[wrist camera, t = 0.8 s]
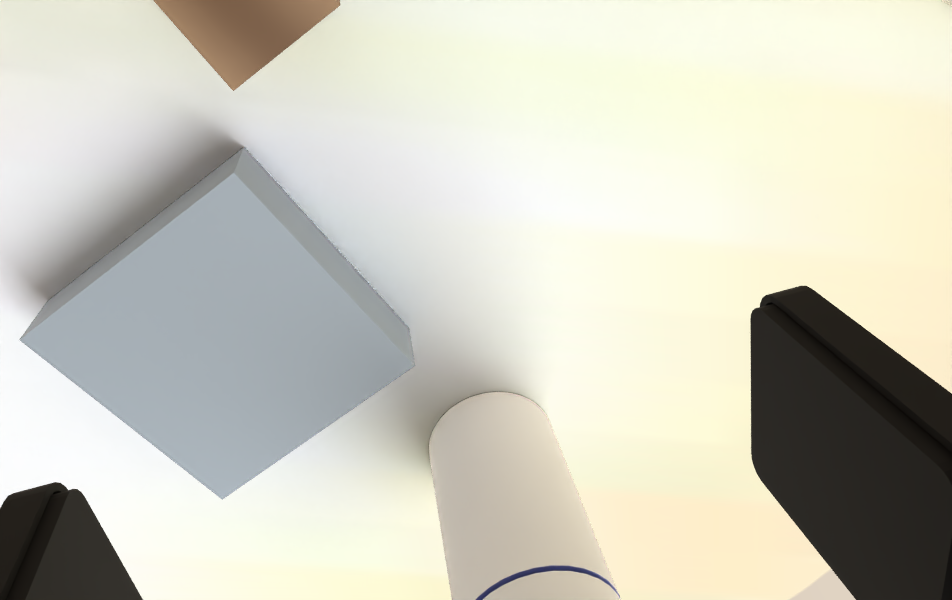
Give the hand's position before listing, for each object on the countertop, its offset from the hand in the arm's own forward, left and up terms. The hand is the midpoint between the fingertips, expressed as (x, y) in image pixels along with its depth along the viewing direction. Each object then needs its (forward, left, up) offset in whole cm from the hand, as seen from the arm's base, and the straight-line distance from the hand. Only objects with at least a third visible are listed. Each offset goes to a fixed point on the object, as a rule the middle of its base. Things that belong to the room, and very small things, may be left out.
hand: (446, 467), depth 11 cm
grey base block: (+12, +5, -27) cm, 30 cm away
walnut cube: (+1, -6, -26) cm, 27 cm away
